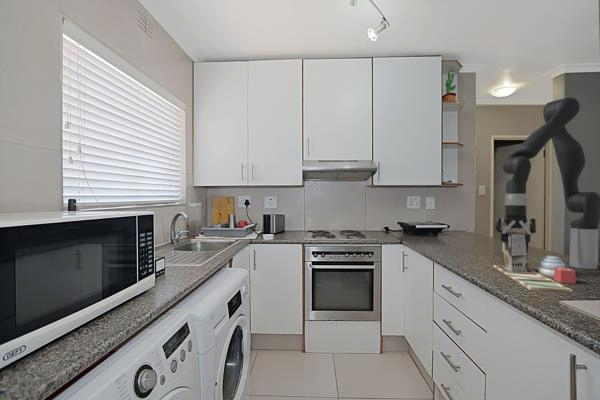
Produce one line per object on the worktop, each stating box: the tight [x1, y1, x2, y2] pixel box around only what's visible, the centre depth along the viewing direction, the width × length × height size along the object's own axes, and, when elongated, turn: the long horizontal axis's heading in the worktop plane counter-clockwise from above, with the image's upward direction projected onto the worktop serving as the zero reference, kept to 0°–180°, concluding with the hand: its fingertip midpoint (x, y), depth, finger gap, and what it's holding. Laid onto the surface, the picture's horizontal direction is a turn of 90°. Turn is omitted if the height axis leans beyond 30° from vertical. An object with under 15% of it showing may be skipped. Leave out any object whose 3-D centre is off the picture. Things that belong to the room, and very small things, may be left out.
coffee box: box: [502, 231, 529, 272], centre depth 135 cm, size 9×6×16 cm
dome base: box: [537, 265, 554, 278], centre depth 129 cm, size 9×9×2 cm
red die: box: [553, 267, 577, 284], centre depth 118 cm, size 4×4×5 cm
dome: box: [539, 255, 566, 270], centre depth 129 cm, size 8×8×5 cm
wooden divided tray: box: [493, 264, 573, 293], centre depth 124 cm, size 35×12×1 cm, turn 166°
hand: (514, 242), depth 135 cm, fingers open, 8 cm apart
